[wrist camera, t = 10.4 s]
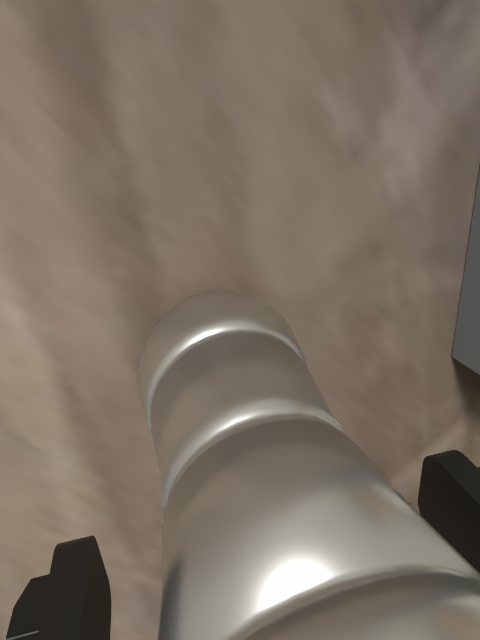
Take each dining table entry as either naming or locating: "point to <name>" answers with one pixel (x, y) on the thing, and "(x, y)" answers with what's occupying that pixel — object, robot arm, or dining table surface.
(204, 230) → the dining table surface
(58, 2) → the dining table surface
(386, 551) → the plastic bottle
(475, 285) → the box
